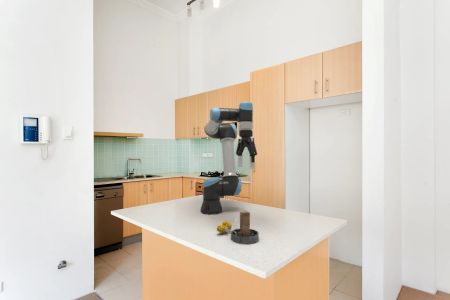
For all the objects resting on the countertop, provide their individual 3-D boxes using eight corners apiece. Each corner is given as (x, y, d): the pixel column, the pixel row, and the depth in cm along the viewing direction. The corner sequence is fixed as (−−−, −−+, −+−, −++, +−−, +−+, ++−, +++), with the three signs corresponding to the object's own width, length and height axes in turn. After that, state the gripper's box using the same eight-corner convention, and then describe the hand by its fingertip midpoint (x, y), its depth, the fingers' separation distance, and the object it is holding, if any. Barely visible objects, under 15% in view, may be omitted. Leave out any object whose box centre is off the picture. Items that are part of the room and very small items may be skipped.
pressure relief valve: (213, 232, 124) (226, 228, 132) (232, 242, 116) (244, 236, 124) (215, 222, 123) (227, 218, 131) (233, 231, 116) (245, 226, 124)
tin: (226, 236, 121) (226, 229, 121) (249, 232, 126) (249, 226, 126) (239, 245, 109) (239, 238, 109) (263, 241, 114) (263, 234, 114)
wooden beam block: (239, 236, 118) (239, 211, 118) (246, 235, 120) (246, 211, 120) (243, 238, 115) (243, 213, 115) (249, 237, 116) (249, 212, 117)
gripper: (230, 131, 147) (230, 166, 147) (251, 127, 124) (251, 169, 124) (241, 131, 150) (241, 166, 150) (263, 128, 127) (263, 169, 127)
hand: (245, 167), depth 137 cm, fingers open, 13 cm apart
